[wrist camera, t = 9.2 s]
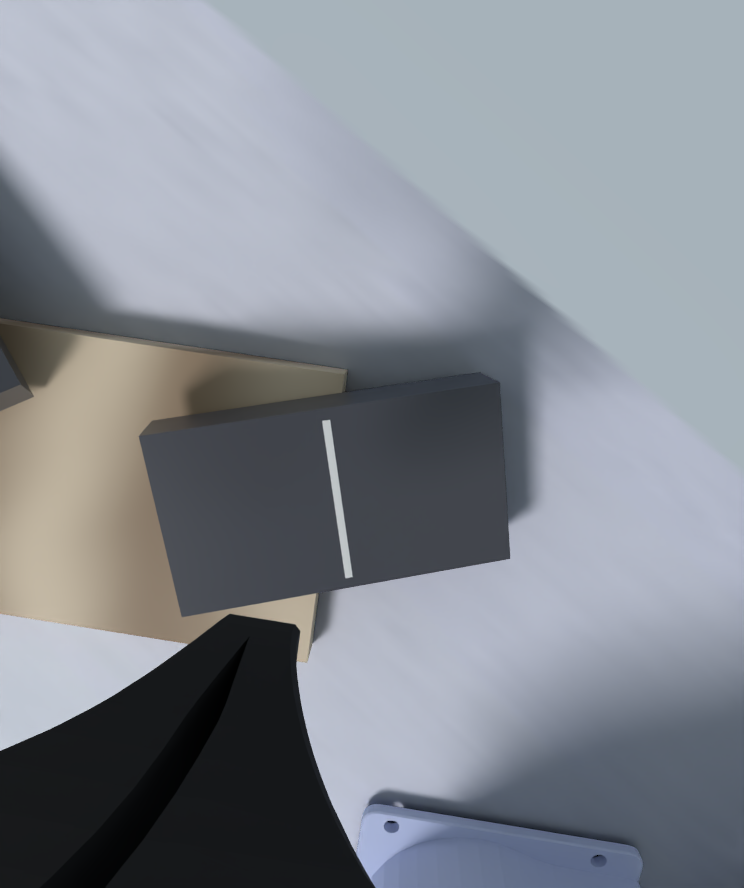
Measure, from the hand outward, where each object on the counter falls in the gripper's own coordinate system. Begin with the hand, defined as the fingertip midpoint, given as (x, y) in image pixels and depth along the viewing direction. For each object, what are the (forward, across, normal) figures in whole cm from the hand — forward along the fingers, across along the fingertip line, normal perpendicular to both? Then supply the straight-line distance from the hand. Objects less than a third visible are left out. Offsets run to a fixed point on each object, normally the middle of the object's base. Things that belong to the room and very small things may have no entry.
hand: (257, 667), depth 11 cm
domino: (+5, +4, 0) cm, 6 cm away
